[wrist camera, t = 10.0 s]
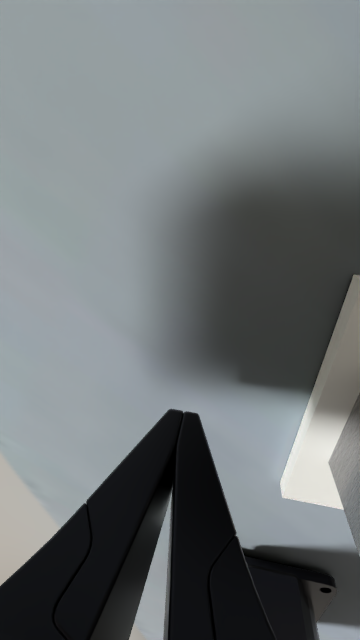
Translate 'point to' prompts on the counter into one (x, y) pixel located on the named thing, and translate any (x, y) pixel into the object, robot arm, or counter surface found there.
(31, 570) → the robot arm
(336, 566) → the counter surface
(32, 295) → the counter surface
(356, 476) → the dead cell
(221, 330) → the counter surface
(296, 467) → the long white tray
